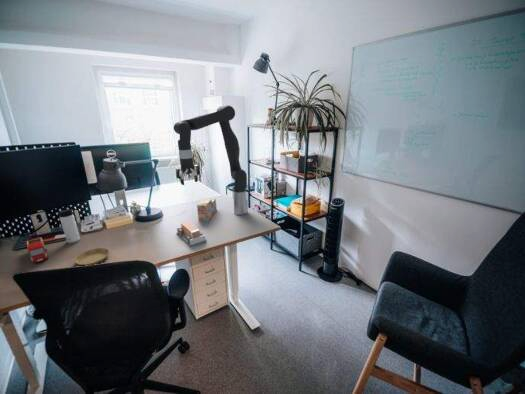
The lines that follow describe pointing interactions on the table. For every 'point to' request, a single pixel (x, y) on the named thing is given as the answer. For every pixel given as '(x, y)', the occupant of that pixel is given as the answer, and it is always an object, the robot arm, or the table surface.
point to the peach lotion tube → (190, 230)
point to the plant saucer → (92, 256)
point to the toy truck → (37, 250)
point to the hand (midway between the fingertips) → (189, 183)
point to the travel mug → (69, 226)
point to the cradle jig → (188, 240)
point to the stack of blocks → (206, 209)
